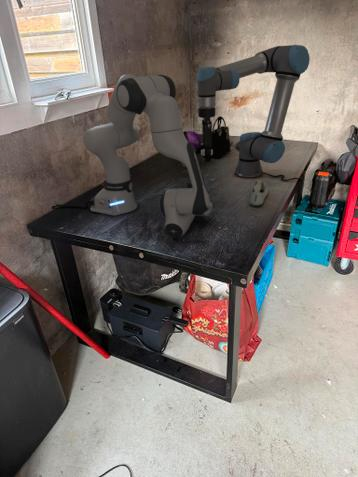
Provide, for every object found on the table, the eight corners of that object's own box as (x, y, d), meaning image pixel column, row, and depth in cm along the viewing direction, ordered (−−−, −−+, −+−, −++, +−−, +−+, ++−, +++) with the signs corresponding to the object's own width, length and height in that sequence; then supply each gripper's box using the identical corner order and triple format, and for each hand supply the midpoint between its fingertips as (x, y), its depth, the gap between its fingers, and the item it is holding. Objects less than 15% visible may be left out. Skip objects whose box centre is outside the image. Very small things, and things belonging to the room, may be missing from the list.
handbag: (218, 159, 217) (218, 119, 204) (206, 157, 221) (205, 119, 209) (231, 151, 232) (232, 114, 219) (219, 150, 236) (220, 113, 224)
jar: (189, 210, 152) (188, 179, 144) (199, 211, 150) (198, 180, 143) (186, 214, 148) (184, 183, 140) (196, 215, 147) (195, 183, 139)
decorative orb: (204, 151, 235) (204, 129, 228) (194, 156, 225) (193, 134, 217) (186, 149, 243) (186, 128, 235) (175, 154, 232) (174, 132, 224)
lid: (200, 155, 151) (200, 151, 150) (201, 152, 156) (201, 148, 155) (211, 155, 150) (211, 152, 149) (213, 152, 155) (213, 148, 154)
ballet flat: (269, 188, 169) (270, 173, 165) (265, 208, 149) (266, 191, 145) (252, 187, 171) (253, 172, 167) (246, 206, 151) (247, 190, 147)
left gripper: (209, 207, 131) (215, 194, 142) (160, 204, 137) (170, 191, 148) (209, 221, 134) (215, 207, 146) (162, 217, 140) (171, 204, 151)
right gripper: (195, 104, 151) (196, 154, 162) (200, 110, 135) (201, 166, 146) (212, 103, 151) (211, 153, 162) (218, 109, 135) (218, 165, 146)
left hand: (192, 199), depth 147 cm, fingers closed on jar, 4 cm apart
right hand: (206, 159), depth 154 cm, fingers closed on lid, 5 cm apart
